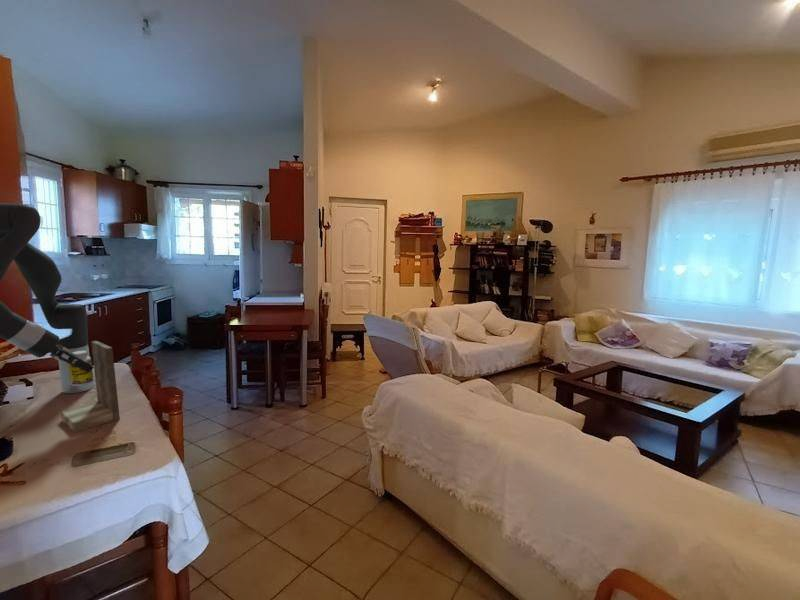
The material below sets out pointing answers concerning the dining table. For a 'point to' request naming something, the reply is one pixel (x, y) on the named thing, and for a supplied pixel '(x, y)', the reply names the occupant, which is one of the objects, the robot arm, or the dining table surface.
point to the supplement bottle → (80, 370)
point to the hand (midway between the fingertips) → (87, 367)
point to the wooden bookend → (106, 394)
